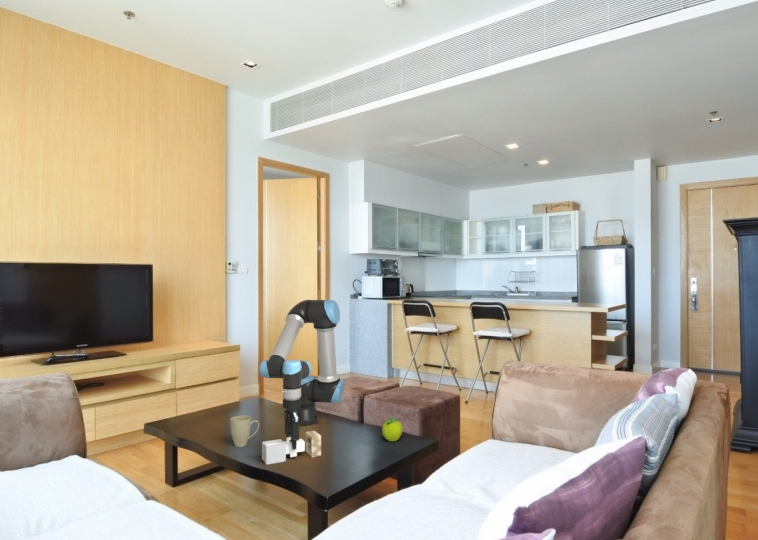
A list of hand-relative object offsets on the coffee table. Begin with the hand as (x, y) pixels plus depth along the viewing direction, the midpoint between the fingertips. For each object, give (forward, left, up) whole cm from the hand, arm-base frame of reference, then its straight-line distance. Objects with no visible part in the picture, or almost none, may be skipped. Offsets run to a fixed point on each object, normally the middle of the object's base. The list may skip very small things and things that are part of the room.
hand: (291, 454), depth 202 cm
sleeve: (+7, 0, -1) cm, 8 cm away
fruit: (-48, +1, -1) cm, 48 cm away
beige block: (-10, 0, -1) cm, 10 cm away
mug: (+14, -25, -1) cm, 29 cm away
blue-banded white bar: (+2, 0, +1) cm, 3 cm away
